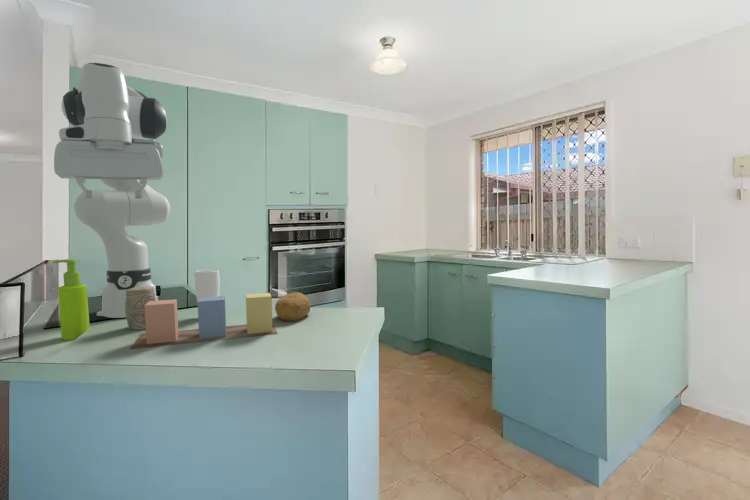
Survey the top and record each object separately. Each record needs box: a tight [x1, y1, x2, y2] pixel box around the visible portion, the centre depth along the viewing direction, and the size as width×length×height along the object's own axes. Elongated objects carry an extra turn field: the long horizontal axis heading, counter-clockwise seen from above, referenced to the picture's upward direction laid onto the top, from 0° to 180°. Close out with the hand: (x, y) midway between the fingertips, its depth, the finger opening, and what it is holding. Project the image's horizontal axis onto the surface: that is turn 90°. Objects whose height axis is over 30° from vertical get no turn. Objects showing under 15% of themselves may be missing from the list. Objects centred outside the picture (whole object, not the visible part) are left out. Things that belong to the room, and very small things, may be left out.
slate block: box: [197, 295, 227, 339], centre depth 98 cm, size 5×6×9 cm
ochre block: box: [245, 292, 273, 334], centre depth 101 cm, size 5×6×9 cm
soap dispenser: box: [52, 258, 91, 341], centre depth 102 cm, size 6×7×20 cm
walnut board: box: [129, 321, 278, 350], centre depth 99 cm, size 12×32×2 cm, turn 110°
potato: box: [274, 291, 312, 322], centre depth 115 cm, size 10×14×8 cm
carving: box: [125, 287, 156, 331], centre depth 106 cm, size 6×8×12 cm
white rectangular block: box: [194, 268, 221, 305], centre depth 117 cm, size 7×7×15 cm
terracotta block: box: [145, 298, 179, 344], centre depth 94 cm, size 5×6×9 cm
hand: (114, 198), depth 89 cm, fingers open, 8 cm apart
